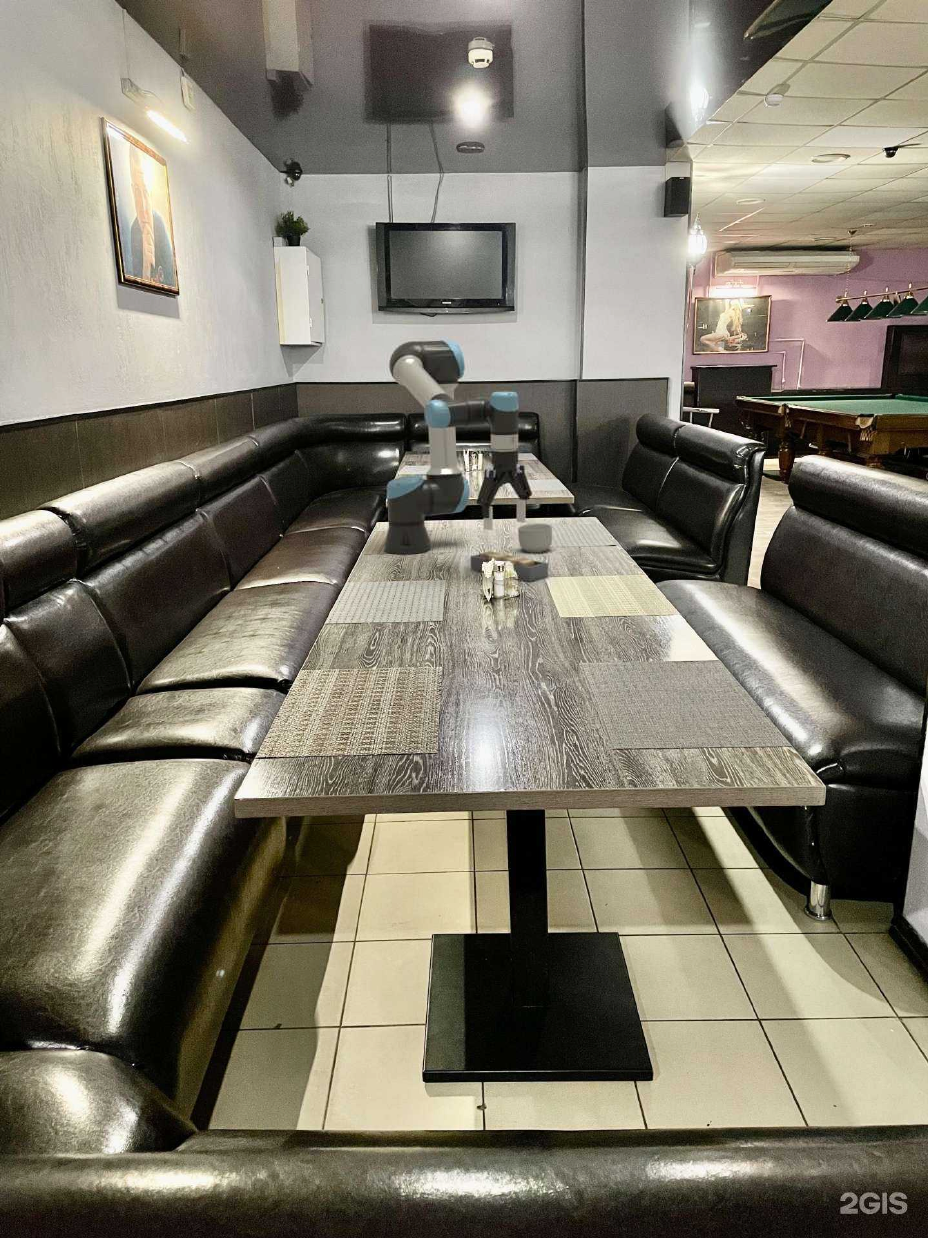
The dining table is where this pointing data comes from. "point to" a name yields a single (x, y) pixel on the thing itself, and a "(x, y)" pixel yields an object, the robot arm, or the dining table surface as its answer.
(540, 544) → the teacup
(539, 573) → the grey hollow tray
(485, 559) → the grey u-channel bracket
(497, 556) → the tan long bar
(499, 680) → the dining table surface
